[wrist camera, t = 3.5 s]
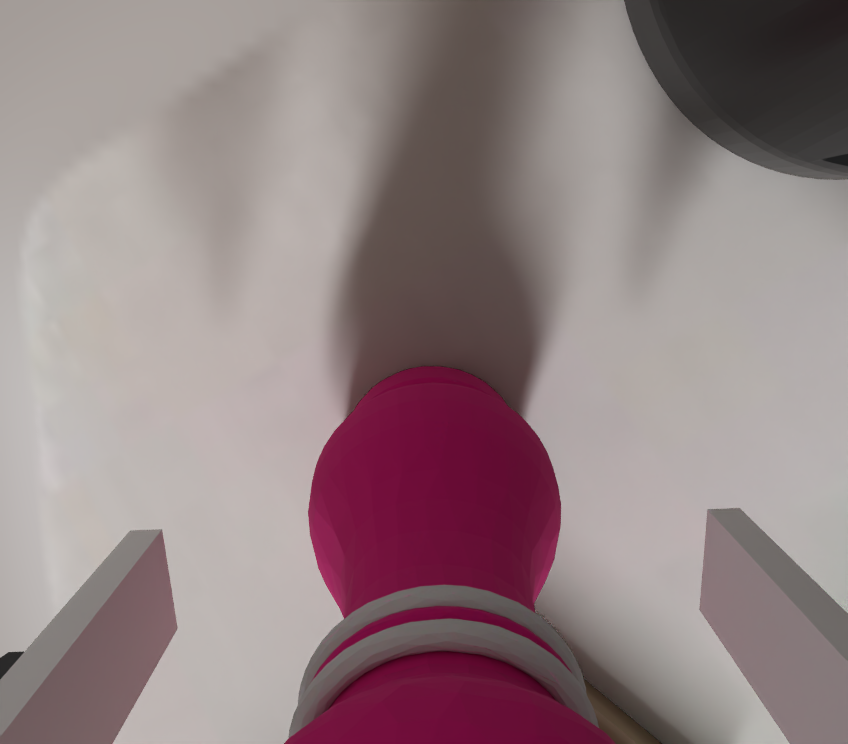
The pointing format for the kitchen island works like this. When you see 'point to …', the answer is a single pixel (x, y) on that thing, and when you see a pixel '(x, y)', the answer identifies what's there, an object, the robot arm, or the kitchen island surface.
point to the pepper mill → (438, 576)
